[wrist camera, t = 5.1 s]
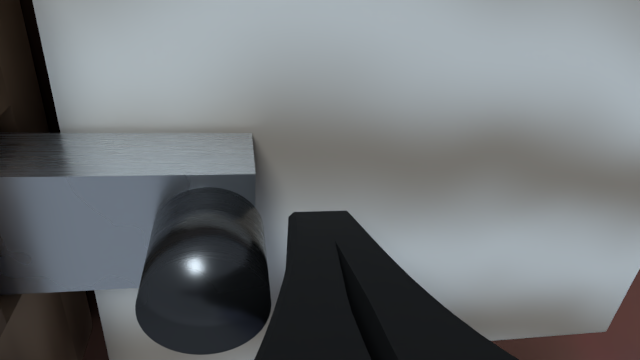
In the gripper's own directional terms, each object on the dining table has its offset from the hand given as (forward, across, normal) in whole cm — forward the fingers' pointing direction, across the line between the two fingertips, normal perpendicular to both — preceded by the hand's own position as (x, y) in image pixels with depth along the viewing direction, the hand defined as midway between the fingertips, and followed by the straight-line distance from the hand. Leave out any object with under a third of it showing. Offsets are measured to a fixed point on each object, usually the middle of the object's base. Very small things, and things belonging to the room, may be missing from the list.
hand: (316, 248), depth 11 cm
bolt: (+3, +6, 0) cm, 7 cm away
